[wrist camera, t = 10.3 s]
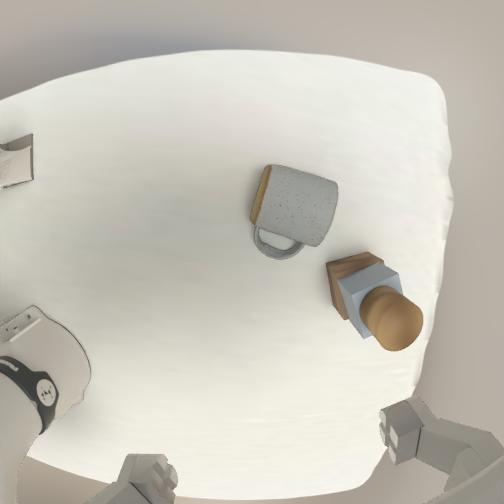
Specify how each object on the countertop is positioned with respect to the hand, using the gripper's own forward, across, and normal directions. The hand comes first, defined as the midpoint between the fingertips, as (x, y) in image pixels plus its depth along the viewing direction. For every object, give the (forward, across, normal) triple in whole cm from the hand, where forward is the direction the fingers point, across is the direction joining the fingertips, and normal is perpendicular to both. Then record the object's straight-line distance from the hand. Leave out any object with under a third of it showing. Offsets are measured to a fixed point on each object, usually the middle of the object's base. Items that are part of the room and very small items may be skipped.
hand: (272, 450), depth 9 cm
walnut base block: (+29, -12, +6) cm, 32 cm away
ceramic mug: (+29, -6, -4) cm, 30 cm away
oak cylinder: (+19, -12, +6) cm, 23 cm away
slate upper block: (+24, -12, +6) cm, 28 cm away
